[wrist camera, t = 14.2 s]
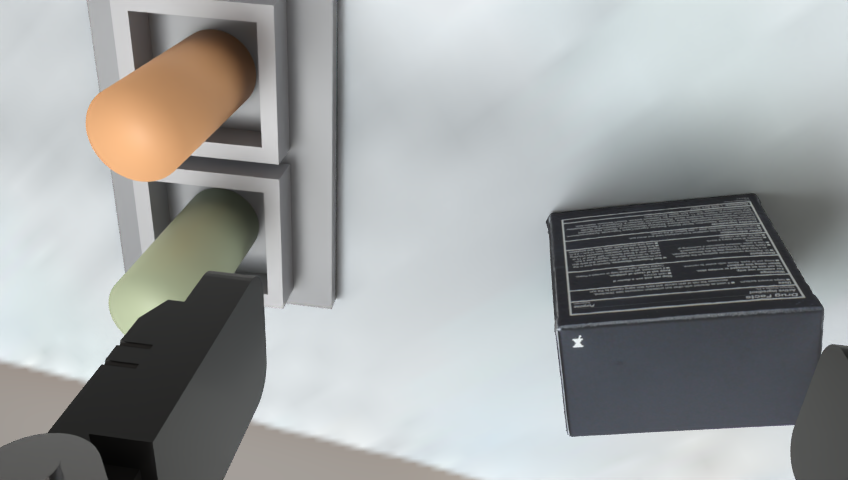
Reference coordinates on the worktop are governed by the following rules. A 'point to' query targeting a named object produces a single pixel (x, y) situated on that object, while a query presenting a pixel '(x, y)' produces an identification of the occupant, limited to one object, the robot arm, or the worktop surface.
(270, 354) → the worktop surface
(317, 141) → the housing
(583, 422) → the small box
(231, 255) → the jaw peg olive
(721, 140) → the worktop surface
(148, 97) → the jaw peg orange
